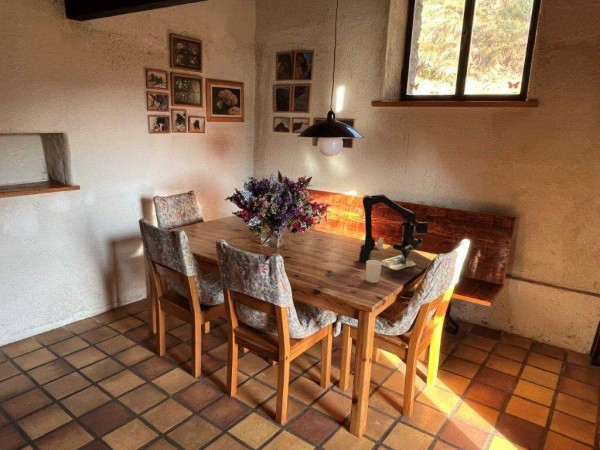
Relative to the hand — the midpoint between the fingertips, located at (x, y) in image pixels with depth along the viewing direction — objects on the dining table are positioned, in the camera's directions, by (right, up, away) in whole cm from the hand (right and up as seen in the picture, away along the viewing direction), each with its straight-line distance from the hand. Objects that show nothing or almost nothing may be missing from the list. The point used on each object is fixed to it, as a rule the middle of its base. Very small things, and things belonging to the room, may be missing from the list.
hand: (405, 259), depth 247 cm
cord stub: (0, -3, +1) cm, 3 cm away
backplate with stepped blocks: (-4, -4, 0) cm, 6 cm away
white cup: (-23, -9, -24) cm, 35 cm away
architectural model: (-9, +4, +33) cm, 35 cm away
